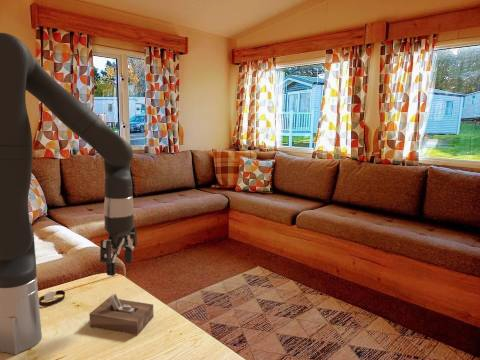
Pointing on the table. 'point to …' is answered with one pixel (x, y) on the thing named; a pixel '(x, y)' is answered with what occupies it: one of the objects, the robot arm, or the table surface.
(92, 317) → the slot stand
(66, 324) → the table surface
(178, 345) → the table surface
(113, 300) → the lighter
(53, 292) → the watch
